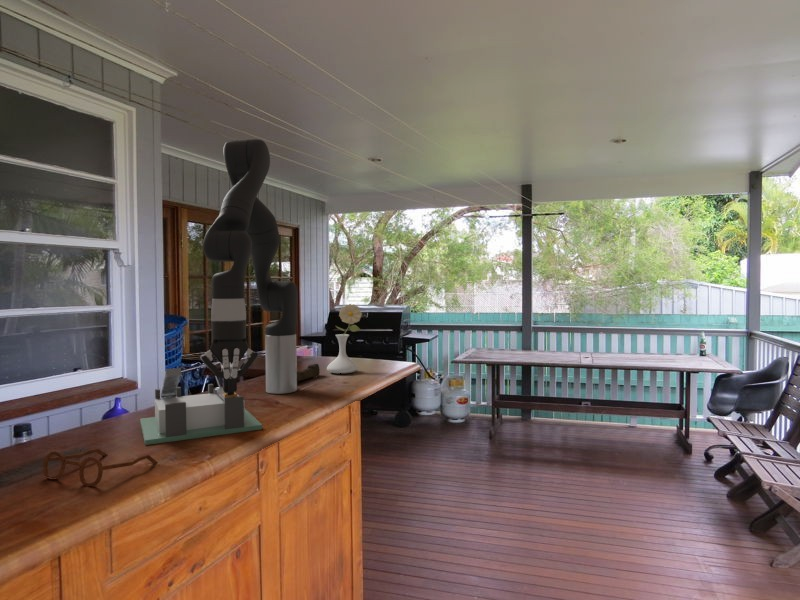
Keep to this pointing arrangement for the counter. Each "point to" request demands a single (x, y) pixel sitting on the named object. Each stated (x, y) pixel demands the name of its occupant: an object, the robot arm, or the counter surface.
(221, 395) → the strap
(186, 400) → the base
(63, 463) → the glasses
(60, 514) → the counter surface
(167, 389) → the strap
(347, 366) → the flower in vase
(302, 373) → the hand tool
